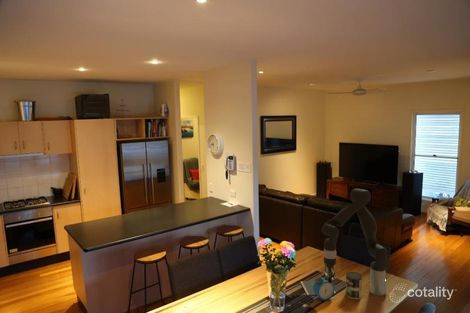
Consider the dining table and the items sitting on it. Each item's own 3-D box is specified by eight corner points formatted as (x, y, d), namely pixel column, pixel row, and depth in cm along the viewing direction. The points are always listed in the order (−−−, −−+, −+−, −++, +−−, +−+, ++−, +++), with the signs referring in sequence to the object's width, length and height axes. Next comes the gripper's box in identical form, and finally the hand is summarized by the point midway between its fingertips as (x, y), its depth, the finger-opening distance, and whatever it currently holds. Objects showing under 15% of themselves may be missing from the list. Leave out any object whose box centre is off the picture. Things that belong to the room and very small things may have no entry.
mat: (326, 280, 237) (326, 279, 237) (336, 293, 219) (336, 292, 219) (300, 282, 236) (300, 281, 236) (307, 295, 218) (307, 294, 218)
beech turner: (323, 268, 255) (323, 267, 255) (328, 268, 255) (328, 267, 254) (327, 280, 237) (327, 278, 237) (333, 280, 237) (333, 278, 237)
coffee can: (352, 300, 210) (353, 280, 208) (342, 292, 220) (342, 273, 218) (365, 297, 214) (365, 277, 212) (354, 289, 223) (354, 270, 222)
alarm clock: (317, 302, 210) (317, 280, 208) (312, 297, 215) (312, 276, 214) (335, 298, 213) (335, 277, 212) (329, 293, 219) (329, 272, 217)
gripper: (340, 260, 193) (339, 287, 195) (331, 251, 206) (331, 276, 208) (327, 260, 193) (327, 288, 195) (320, 251, 206) (320, 277, 208)
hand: (329, 282), depth 201 cm, fingers closed
